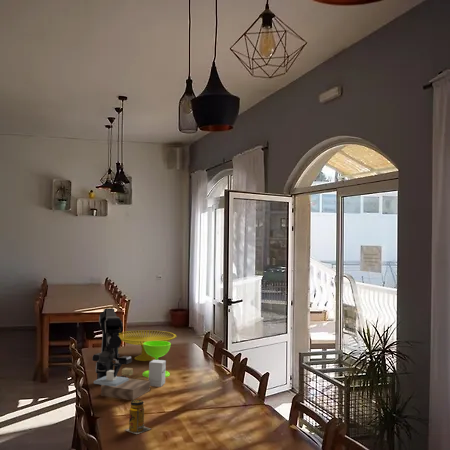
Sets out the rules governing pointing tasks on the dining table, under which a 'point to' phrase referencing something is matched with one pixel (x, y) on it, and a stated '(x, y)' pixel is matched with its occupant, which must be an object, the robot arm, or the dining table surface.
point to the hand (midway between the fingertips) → (111, 376)
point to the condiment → (137, 417)
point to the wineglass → (156, 352)
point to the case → (126, 389)
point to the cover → (111, 379)
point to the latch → (127, 371)
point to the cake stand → (141, 340)
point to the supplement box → (157, 372)
